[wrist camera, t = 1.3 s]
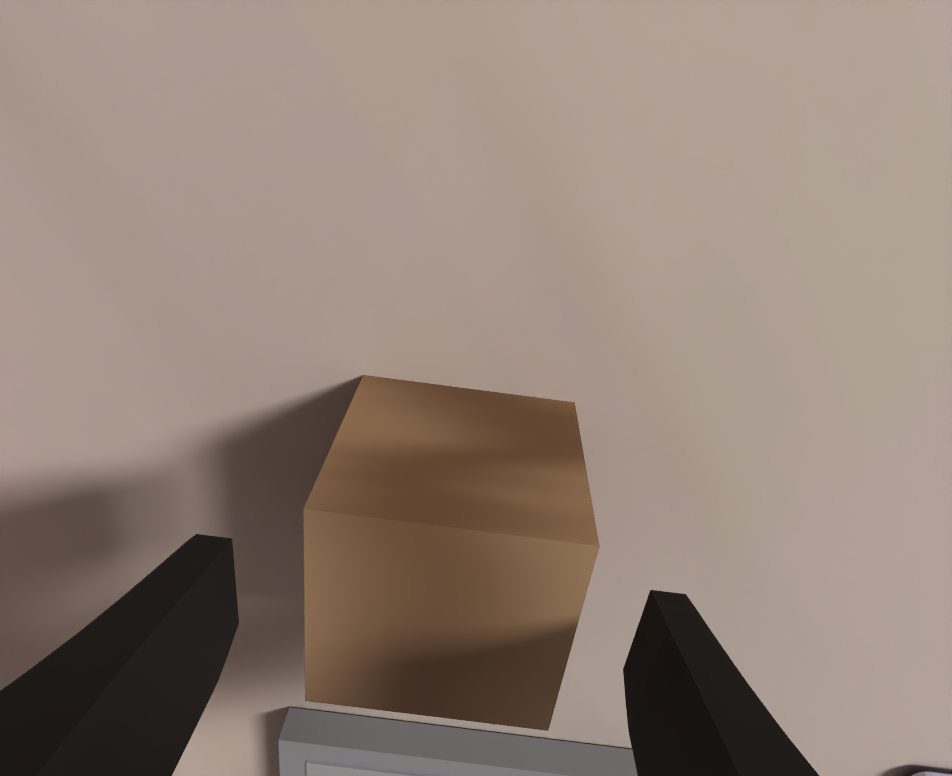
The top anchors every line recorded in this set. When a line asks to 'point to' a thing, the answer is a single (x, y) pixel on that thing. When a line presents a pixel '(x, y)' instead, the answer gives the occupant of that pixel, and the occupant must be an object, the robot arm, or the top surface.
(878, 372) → the top surface
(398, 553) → the walnut block
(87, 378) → the top surface
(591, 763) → the slate tile
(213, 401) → the top surface
